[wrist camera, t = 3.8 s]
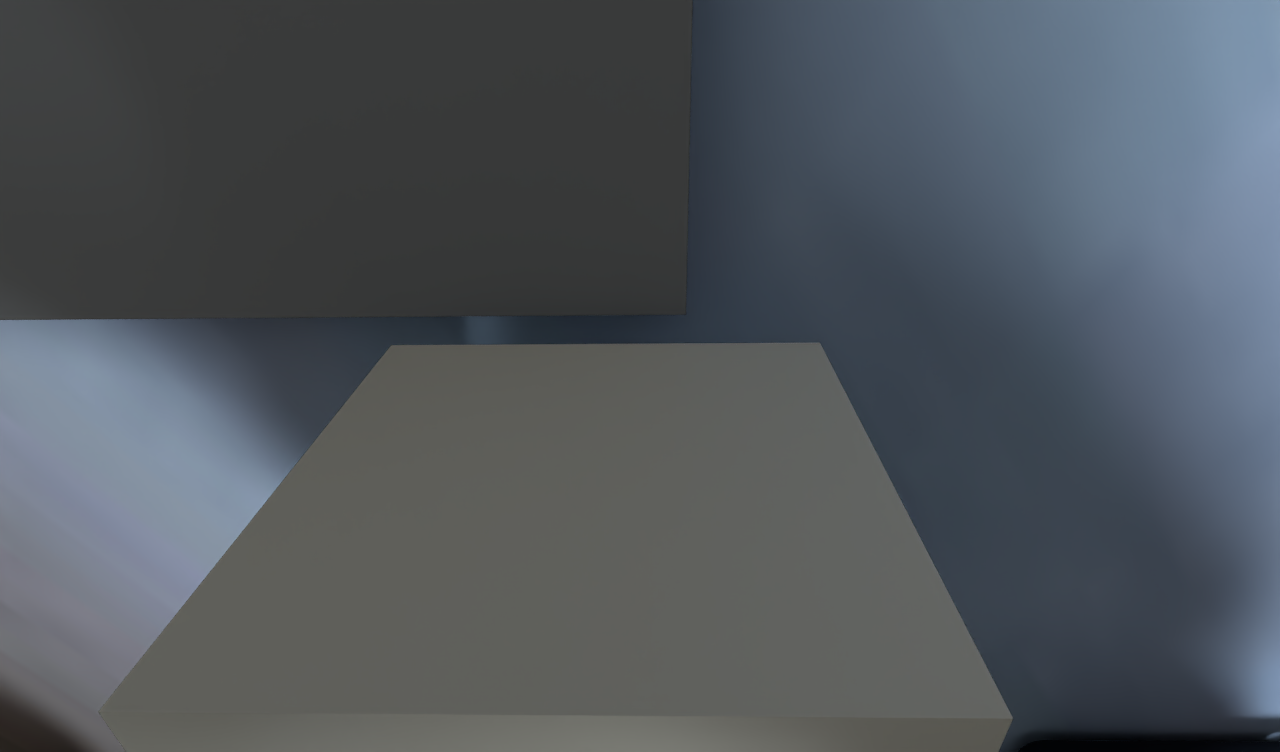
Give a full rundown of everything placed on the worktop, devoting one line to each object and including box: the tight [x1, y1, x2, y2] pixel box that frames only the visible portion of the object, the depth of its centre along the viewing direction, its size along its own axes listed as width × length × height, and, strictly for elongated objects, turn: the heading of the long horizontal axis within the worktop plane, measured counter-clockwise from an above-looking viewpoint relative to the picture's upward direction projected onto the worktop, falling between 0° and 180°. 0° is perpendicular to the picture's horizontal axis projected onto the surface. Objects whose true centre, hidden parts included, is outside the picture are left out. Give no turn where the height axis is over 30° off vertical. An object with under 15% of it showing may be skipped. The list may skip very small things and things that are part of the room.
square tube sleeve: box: [98, 343, 1013, 752], centre depth 8 cm, size 6×8×5 cm
